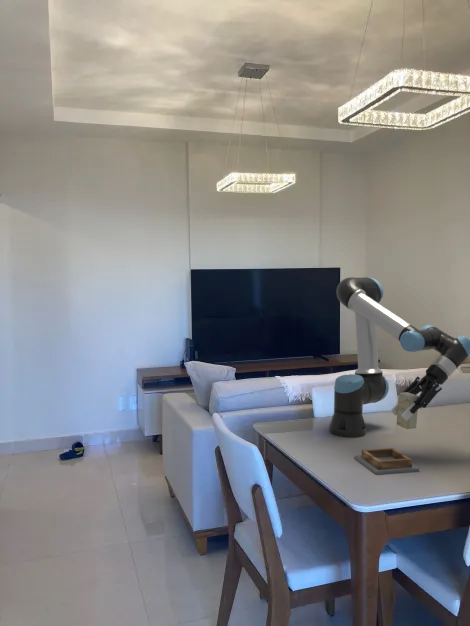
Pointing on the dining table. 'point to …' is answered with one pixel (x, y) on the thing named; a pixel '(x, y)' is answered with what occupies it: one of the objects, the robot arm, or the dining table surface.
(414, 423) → the skincare box
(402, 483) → the dining table surface
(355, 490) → the dining table surface
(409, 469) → the slate tray
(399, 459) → the walnut collar
